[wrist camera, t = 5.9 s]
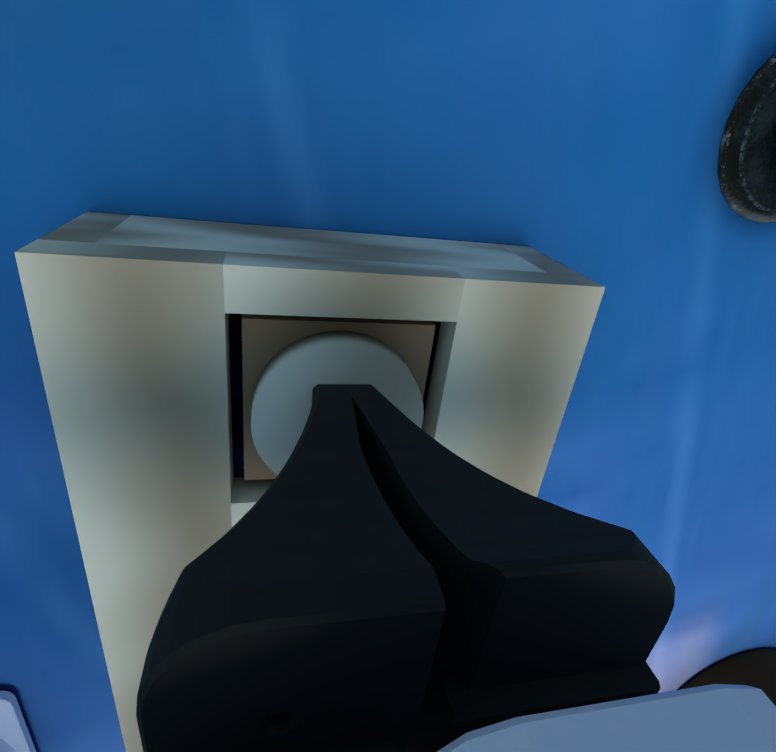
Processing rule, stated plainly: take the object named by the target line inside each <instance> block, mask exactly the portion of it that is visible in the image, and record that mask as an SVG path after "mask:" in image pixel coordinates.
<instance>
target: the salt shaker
mask: <svg viewBox="0 0 776 752" xmlns="http://www.w3.org/2000/svg"><path fill="white" fill-rule="evenodd" d="M718 176H719V181H720V186H721V191H722V194H723V196H724V197H725V199H726V201H727V203H728V205H729V206H730V208H731V209H733V210H734V211H735V212H736V213H738V214H739V215H740V216H741V217H743V218H746V219H749V220H753V221H756V222H760V223H766V222H776V53H775V54H774V55H773V56H772V57H771V58H770V59H769V60H768V61H767V62H766V63H765V64H764V65H763V66H762V67H761V68H760V69H759V70H758V71H757V72H756V73H755V75H754V76H753V78H752V79H751V80H750V82H749V83H748V85H747V86H746V87H745V89H744V90H743V92H742V93H741V95H740V96H739V98H738V100H737V102H736V104H735V106H734V108H733V110H732V112H731V115H730V117H729V119H728V121H727V123H726V127H725V130H724V134H723V138H722V141H721V145H720V149H719V163H718Z"/></svg>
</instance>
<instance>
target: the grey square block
mask: <svg viewBox="0 0 776 752" xmlns="http://www.w3.org/2000/svg"><path fill="white" fill-rule="evenodd" d="M14 253H15V257H16V261H17V266H18V270H19V275H20V279H21V284H22V288H23V293H24V297H25V302H26V306H27V311H28V315H29V320H30V324H31V329H32V333H33V338H34V342H35V347H36V351H37V355H38V360H39V364H40V369H41V373H42V378H43V382H44V387H45V391H46V396H47V400H48V405H49V409H50V414H51V418H52V423H53V427H54V432H55V436H56V441H57V445H58V450H59V454H60V458H61V463H62V467H63V472H64V476H65V481H66V485H67V490H68V494H69V499H70V503H71V508H72V512H73V517H74V521H75V526H76V530H77V535H78V539H79V544H80V548H81V552H82V557H83V561H84V566H85V570H86V575H87V579H88V584H89V588H90V593H91V597H92V602H93V606H94V611H95V615H96V620H97V624H98V629H99V633H100V638H101V642H102V647H103V651H104V655H105V660H106V664H107V669H108V673H109V678H110V682H111V687H112V691H113V696H114V700H115V705H116V709H117V714H118V718H119V723H120V727H121V732H122V736H123V741H124V745H125V749H126V752H143V748H142V743H141V738H140V733H139V728H138V723H137V718H136V707H137V694H138V689H139V685H140V681H141V676H142V672H143V667H144V663H145V659H146V655H147V651H148V648H149V645H150V642H151V640H152V637H153V634H154V631H155V628H156V626H157V623H158V621H159V618H160V616H161V613H162V611H163V609H164V607H165V605H166V603H167V600H168V598H169V596H170V594H171V592H172V590H173V588H174V586H175V584H176V582H177V580H178V578H179V576H180V574H181V573H182V571H183V569H184V567H185V566H187V565H188V564H189V563H191V562H192V561H193V560H195V559H196V558H197V557H198V556H199V555H201V554H202V553H203V552H204V551H206V550H207V549H208V548H209V547H210V546H212V545H213V544H214V543H215V542H217V541H218V540H219V539H220V538H221V537H223V536H224V535H225V534H226V533H227V532H228V531H229V530H230V529H231V528H232V527H233V526H234V525H235V524H236V523H237V522H238V521H239V520H240V519H241V518H242V517H243V516H244V515H245V514H246V513H247V512H248V511H249V510H250V509H251V508H252V507H253V506H254V505H255V503H256V502H257V501H258V500H259V499H260V498H261V496H262V495H263V494H264V493H265V491H266V490H267V489H268V488H269V486H270V485H271V484H272V482H273V481H274V480H275V479H262V480H244V477H237V478H234V475H233V441H232V407H231V372H230V338H229V313H231V314H258V315H285V316H312V317H338V318H365V319H392V320H419V321H441V324H440V330H439V336H438V341H437V347H436V352H435V358H434V364H433V369H432V375H431V381H430V386H429V392H428V398H427V403H426V409H425V415H424V420H423V426H422V430H423V431H424V432H426V433H427V434H428V435H430V436H431V437H432V438H434V439H435V440H436V441H438V442H439V443H440V444H442V445H443V446H444V447H446V448H447V449H449V450H450V451H452V452H453V453H454V454H456V455H457V456H459V457H461V458H462V459H464V460H466V461H467V462H469V463H470V464H472V465H474V466H475V467H477V468H479V469H480V470H482V471H484V472H486V473H487V474H489V475H491V476H493V477H495V478H497V479H499V480H501V481H503V482H505V483H507V484H509V485H511V486H513V487H515V488H517V489H519V490H521V491H523V492H526V493H528V494H530V495H532V496H535V497H537V495H538V492H539V489H540V486H541V483H542V480H543V477H544V474H545V471H546V468H547V465H548V461H549V458H550V455H551V452H552V449H553V446H554V443H555V440H556V437H557V434H558V431H559V428H560V425H561V422H562V419H563V416H564V412H565V409H566V406H567V403H568V400H569V397H570V394H571V391H572V388H573V385H574V382H575V379H576V376H577V373H578V370H579V367H580V363H581V360H582V357H583V354H584V351H585V348H586V345H587V342H588V339H589V336H590V333H591V330H592V327H593V324H594V321H595V317H596V314H597V311H598V308H599V305H600V302H601V299H602V296H603V293H604V290H605V287H604V286H602V285H600V284H599V283H597V282H595V281H593V280H591V279H589V278H587V277H585V276H583V275H582V274H580V273H578V272H576V271H574V270H572V269H570V268H568V267H567V266H565V265H563V264H561V263H559V262H557V261H555V260H553V259H551V258H550V257H548V256H546V255H544V254H542V253H540V252H538V251H536V250H535V249H533V248H531V247H529V246H519V245H506V244H493V243H481V242H468V241H455V240H442V239H430V238H417V237H404V236H391V235H379V234H366V233H353V232H340V231H328V230H315V229H302V228H290V227H277V226H264V225H251V224H239V223H226V222H213V221H200V220H188V219H175V218H162V217H150V216H137V215H124V214H111V213H99V212H85V213H84V214H82V215H80V216H78V217H77V218H75V219H73V220H71V221H69V222H68V223H66V224H64V225H62V226H60V227H59V228H57V229H55V230H53V231H51V232H50V233H48V234H46V235H44V236H42V237H41V238H39V239H37V240H35V241H33V242H32V243H30V244H28V245H26V246H24V247H23V248H21V249H19V250H17V251H15V252H14Z"/></svg>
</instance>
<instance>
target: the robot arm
mask: <svg viewBox="0 0 776 752" xmlns="http://www.w3.org/2000/svg"><path fill="white" fill-rule="evenodd" d="M674 598H675V586H674V584H673V582H672V579H671V577H670V575H669V574H668V572H667V571H666V570H665V569H664V568H663V567H662V565H661V564H660V563H659V562H658V561H657V560H656V558H655V557H654V556H653V555H652V554H651V553H650V551H649V550H648V549H647V548H646V547H645V545H644V544H643V543H642V542H641V541H640V540H639V538H638V537H637V536H636V535H635V534H634V533H633V532H632V531H631V530H628V529H625V528H622V527H619V526H616V525H613V524H609V523H606V522H603V521H600V520H597V519H594V518H590V517H587V516H584V515H581V514H578V513H575V512H572V511H569V510H567V509H564V508H562V507H559V506H557V505H554V504H552V503H549V502H547V501H544V500H542V499H539V498H537V497H535V496H532V495H530V494H528V493H526V492H523V491H521V490H519V489H517V488H515V487H513V486H511V485H509V484H507V483H505V482H503V481H501V480H499V479H497V478H495V477H493V476H491V475H489V474H487V473H486V472H484V471H482V470H480V469H479V468H477V467H475V466H474V465H472V464H470V463H469V462H467V461H466V460H464V459H462V458H461V457H459V456H457V455H456V454H454V453H453V452H452V451H450V450H449V449H447V448H446V447H444V446H443V445H442V444H440V443H439V442H438V441H436V440H435V439H434V438H432V437H431V436H430V435H428V434H427V433H426V432H424V431H423V430H422V429H421V428H419V427H418V426H417V425H416V424H415V423H413V422H412V421H411V420H410V419H409V418H408V417H406V416H405V415H404V414H403V413H402V412H401V411H400V410H399V409H397V408H396V407H395V406H394V405H393V404H392V403H391V402H390V401H389V400H388V399H387V398H386V397H384V396H383V395H382V394H381V393H380V392H379V391H378V390H377V389H376V388H375V387H373V386H372V385H371V384H317V385H316V386H315V387H314V388H313V389H312V406H311V410H310V414H309V416H308V419H307V422H306V424H305V427H304V430H303V432H302V434H301V436H300V438H299V440H298V442H297V444H296V446H295V448H294V450H293V452H292V454H291V455H290V457H289V459H288V460H287V462H286V464H285V465H284V467H283V468H282V470H281V471H280V473H279V474H278V476H277V477H276V478H275V480H274V481H273V482H272V484H271V485H270V486H269V488H268V489H267V490H266V491H265V493H264V494H263V495H262V496H261V498H260V499H259V500H258V501H257V502H256V503H255V505H254V506H253V507H252V508H251V509H250V510H249V511H248V512H247V513H246V514H245V515H244V516H243V517H242V518H241V519H240V520H239V521H238V522H237V523H236V524H235V525H234V526H233V527H232V528H231V529H230V530H229V531H228V532H227V533H226V534H225V535H224V536H223V537H221V538H220V539H219V540H218V541H217V542H215V543H214V544H213V545H212V546H210V547H209V548H208V549H207V550H206V551H204V552H203V553H202V554H201V555H199V556H198V557H197V558H196V559H195V560H193V561H192V562H191V563H189V564H188V565H187V566H185V567H184V569H183V571H182V573H181V574H180V576H179V578H178V580H177V582H176V584H175V586H174V588H173V590H172V592H171V594H170V596H169V598H168V600H167V603H166V605H165V607H164V609H163V611H162V613H161V616H160V618H159V621H158V623H157V626H156V628H155V631H154V634H153V637H152V640H151V642H150V645H149V648H148V651H147V655H146V659H145V663H144V667H143V672H142V676H141V681H140V685H139V689H138V694H137V707H136V718H137V723H138V728H139V733H140V738H141V743H142V748H143V752H776V706H775V705H774V704H773V703H772V702H771V700H770V699H769V698H768V697H767V696H766V694H765V693H764V692H763V691H762V690H761V689H758V688H755V687H751V686H747V685H729V684H711V685H705V686H699V687H693V688H688V689H682V690H676V691H670V692H664V693H658V691H659V690H660V684H659V681H658V679H657V678H656V676H655V675H654V673H653V672H652V670H651V669H650V667H649V666H648V664H647V663H646V659H647V658H648V656H649V654H650V652H651V651H652V649H653V647H654V645H655V643H656V642H657V640H658V638H659V636H660V635H661V633H662V631H663V629H664V628H665V626H666V624H667V622H668V620H669V617H670V615H671V612H672V610H673V607H674ZM657 693H658V694H657ZM0 752H36V750H35V747H34V744H33V742H32V739H31V736H30V734H29V731H28V728H27V726H26V723H25V720H24V718H23V715H22V712H21V710H20V707H19V704H18V702H17V699H16V697H15V695H14V694H13V693H11V692H9V691H4V690H1V691H0Z"/></svg>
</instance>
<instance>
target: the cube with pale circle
mask: <svg viewBox="0 0 776 752" xmlns="http://www.w3.org/2000/svg"><path fill="white" fill-rule="evenodd" d="M435 327H436V325H435V324H434V322H433V321H419V320H392V319H365V318H338V317H312V316H285V315H258V314H242V371H243V430H244V480H262V479H275V478H276V477H277V476H278V474H279V473H280V471H281V470H282V468H283V467H284V465H285V464H286V462H287V460H288V459H289V457H290V455H291V454H292V452H293V450H294V448H295V446H296V444H297V442H298V440H299V438H300V436H301V434H302V432H303V430H304V427H305V424H306V422H307V419H308V416H309V414H310V410H311V406H312V389H313V388H314V387H315V386H316V385H317V384H371V385H372V386H373V387H375V388H376V389H377V390H378V391H379V392H380V393H381V394H382V395H383V396H384V397H386V398H387V399H388V400H389V401H390V402H391V403H392V404H393V405H394V406H395V407H396V408H397V409H399V410H400V411H401V412H402V413H403V414H404V415H405V416H406V417H408V418H409V419H410V420H411V421H412V422H413V423H415V424H416V425H417V426H418V427H419V428H421V427H422V423H423V415H424V410H423V396H424V390H425V384H426V379H427V373H428V367H429V361H430V356H431V350H432V344H433V338H434V332H435Z"/></svg>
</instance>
